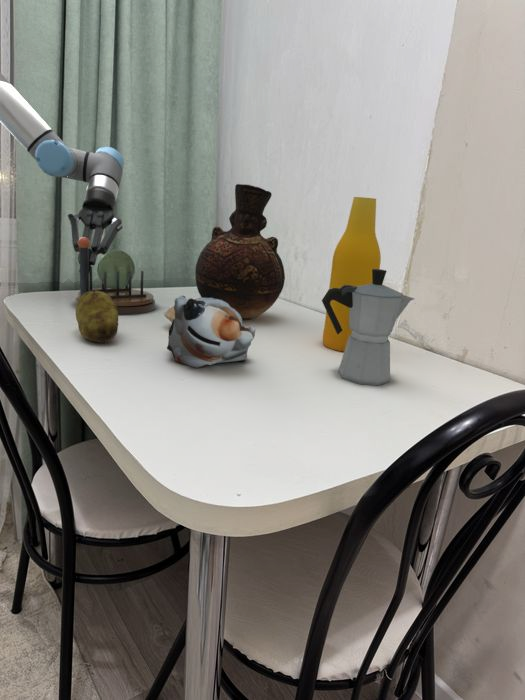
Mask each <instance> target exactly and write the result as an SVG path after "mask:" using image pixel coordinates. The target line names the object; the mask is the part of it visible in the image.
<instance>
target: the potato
mask: <svg viewBox="0 0 525 700" xmlns="http://www.w3.org/2000/svg"><path fill="white" fill-rule="evenodd" d="M75 318H76V322H77V325H78V331H79V333H81V335H82V336H83V338H85V339H86V340H89V341H91V342H94V343H95V342H96V343H101V344H104V343H107V342H109V341H111V340H113V339H114V338H115V337H116V336H117V334H118V329H119V315H118V308H117V306H116V304H115V303H114V302H113V301H112V298H111V297H110V295H108V294H107V293H104V292H102V291H88V292H86V293H84V294H83V295H82V296H81V297H80V298H79V300H78V302H77V305H76V304H75Z"/></svg>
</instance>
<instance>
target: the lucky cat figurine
mask: <svg viewBox="0 0 525 700" xmlns="http://www.w3.org/2000/svg"><path fill="white" fill-rule="evenodd" d="M173 306H174V310H175V319H174V320H173V321H172V322H171V324H170V327H169V329H168V336H167V337H168V342H167V346H166V349H167V350H168V351H169V352H170V353H171V354H172V357H173V360H174V362H177V363H181V364H183V365H186V366H188V367H193V368H196V369H199V368H202V367H204V366H207V365H209V366H211V365H214V364H221V363H229V362H240V361H243V362H244V361H246V359H247V357H248V351H249V348H250V346H251V345H252V341H253V340H254V339H255V337H256V329H254V328H252V326H251V325H244V322H243V318H241V316H240V314H239V313H238V312H237V311H236V310H235V309H233V308H231V307H230V306H229V304H228V303H226V302H224V301H223V300H219V299H214V298H201V297H197V298H189V299H187V298H186V296H185V295H183V294H181V295H179V296H178V297H176V298H175V299H174V304H173Z"/></svg>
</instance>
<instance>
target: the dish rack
mask: <svg viewBox="0 0 525 700" xmlns="http://www.w3.org/2000/svg"><path fill="white" fill-rule="evenodd" d="M78 246H79V247H80V264H79V270H80V272H79V291H78V292H77V297H78V299H79V298H80V297H81V296H82V295H83V294H84V293H86V292H88V291H102V292H104V293H107V294H108V295H110V297H111V298H112V301H113V302H114V303H115V304H116V306H138V305H145V304H149V303H151V302H153V300H155V298H154V295H153V293H150V292H148V291H145V290H144V271H143V270H141V271H140V289H135V288H134V289H133V288H132V281H133V279H134V276H135V272H136V267H135V262H134V260H133V258H132V257H131V256H130V255H129V254H128V253H127V252H126V251H123V250H119V249H113V250H110V251H107V252H106V254H102V256H101V258H100V259H99V260H98V263H97V270H96V272H97V277H98V279H99V281H100V283H101V287H95V288H93V265H91V266H90V267H89V268H88V249H89V248H90V247H91V240H90V241H89V239H88V238H86V237H82V236H81V237H79V240H78Z"/></svg>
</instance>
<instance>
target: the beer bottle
mask: <svg viewBox="0 0 525 700" xmlns="http://www.w3.org/2000/svg"><path fill="white" fill-rule="evenodd" d="M376 214H377V198H375V197H374V198H373V197H364V196H363V197H362V196H354V197H353V199H352V203H351V207H350V212H349V214H348V215H349V216H348V220H347V224H346V228H345V231H344V233H343V234H342V236H341V238H340V239H339V241H338V242H337V245H336V247H335V249H334V252H333V255H332V261H331V270H330V271H331V272H330V278H329V280H330V281H329V288H328V290H329V289H332V288H341V287H342V286H343V285H351V286H355V287H356V286H362V285H367V284H372V269H381V261H382V260H381V259H382V257H381V249H380V245H379V241H378V237H377V233H376V217H377V215H376ZM330 305H331V307H332V309H333V311H334V313H335V315H336V317H337V320H338V322H339V324H340V326H341V328H342V330H343V331H342V332H340V333H339V334H337V333H336V330H335V328H334V326H333V324H332V322H331V320H330V318H329V315H328V313H327V311H326V310H325V318H324V328H323V333H322V344H323V345H324V346H325V347H326V348H327V349H331V350H333V351H338V352H341V353H342V352H343V353H344V351H345V348H346V344H347V341H348V338H349V335H351V333H352V331H351V329H350V328H349V307H347V306H345V305H343V304H341V303H339V302H337V301H335V300H331V302H330Z"/></svg>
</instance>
